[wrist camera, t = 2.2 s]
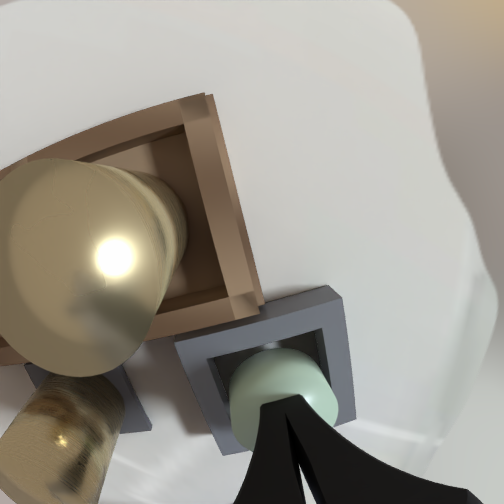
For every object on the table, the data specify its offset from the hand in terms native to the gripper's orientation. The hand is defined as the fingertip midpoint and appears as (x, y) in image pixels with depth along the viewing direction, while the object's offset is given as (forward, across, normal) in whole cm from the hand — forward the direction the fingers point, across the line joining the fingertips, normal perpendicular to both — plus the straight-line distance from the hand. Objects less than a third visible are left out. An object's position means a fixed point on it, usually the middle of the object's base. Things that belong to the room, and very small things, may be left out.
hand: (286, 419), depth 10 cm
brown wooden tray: (+3, +6, -7) cm, 10 cm away
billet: (+3, +8, 0) cm, 9 cm away
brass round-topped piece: (+3, +3, -7) cm, 8 cm away
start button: (+2, 0, 0) cm, 2 cm away
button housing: (+3, 0, 0) cm, 3 cm away
